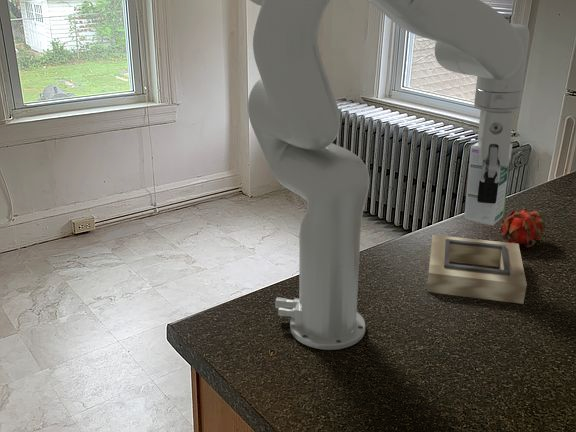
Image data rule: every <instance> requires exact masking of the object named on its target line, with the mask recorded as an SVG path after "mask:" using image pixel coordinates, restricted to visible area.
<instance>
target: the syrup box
mask: <svg viewBox="0 0 576 432" xmlns="http://www.w3.org/2000/svg"><path fill="white" fill-rule="evenodd" d="M489 148H490V146H489ZM512 152H513V143H512V142H510V150H509V160H508V166H507V167H506V168H504V167H503V166H501V165H500V163H499V175H498V182H499V184H498V192H497V199H496V203H494V204H492V203H479V202H478V201H477V197H478V189H479V180H481V177H482V166H481V165H479V157H478V141H477V142H476V143H474V144H473V145H471V146H470V150H469V159H468V161H469V163H468V172H467V180H466V181H467V182H466V193H465V202H464V203H465V205H464V216H463V218H464V219H465V220H467V221H471V222H475V223H478V224H482V225H487V226H488V225H489V226H495V224H496V223H497V222H499V221H500V220H501V219H502V218H503V217H504V216H505V210H506V202H507V195H508V194H507V193H508V188H509V187H508V184H509V178H510V177H509V176H510V169H511V160H512ZM497 160H499V158H498V157H497ZM485 161H486V160H485ZM485 164H489V162H485ZM486 171H488V169H486V170H485V172H486Z"/></svg>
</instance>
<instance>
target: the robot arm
mask: <svg viewBox="0 0 576 432" xmlns="http://www.w3.org/2000/svg"><path fill="white" fill-rule="evenodd" d="M249 1H250V2H252V3H253V4H254V5H255V4H256V5H257V6H260V9H259V11H258V15H257V19H256V23H255V26H254V30H253V37H252V49H253V56H254V61H255V65H256V68H257V70H258V72H259V76H260V78H259V79H258V81H256V82H255V84H254V85H253V87H252V89H251V91H250V93H249V96H248V101H247V112H248V118H249V121H250V125H251V127H252V130H253V132H254V135H255V136H256V140H257V141H258V144H259V145H260V148H261V150H262V153H263V155H264V157H265V160H266V163H267V164H268V167H269V169H270V170H271V172H272V174H273V176H274V178H275V179H276V180H277V181H278V183H280V185H282V186H283V187H284V188H285V189H287V190H289V191H291V192H293V193H294V194H296V195H297V196H299V197H300V198H302V199H303V200H305V201H306V202H307V208H306V212H305V214H304V216H303V219H302V220H301V223H300V228H299V235H298V236H299V238H298V240H299V243H298V246H299V252H298V253H299V256H298V257H299V263H298V264H299V265H298V266H299V267H298V268H299V272H298V275H299V276H298V277H299V281H298V282H299V283H298V284H299V287H298V289H299V293H298V295H299V296H298V297H299V298H298V297H297V298H296V297H294V299H292V298H291V299H290V298H285V297H279V296H276V298H275V302H274V307H275V309H278V310H277V315H278V316H279V317H280V316H281V317H291V318H290V322H289V327H290V333H291V334H292V337H293V338H294V339H296V340H297V342H299V343H300V344H302V345H305V346H307V347H310V348H313V349H318V350H324V351H332V350H333V351H334V350H336V351H337V350H342V349H345V348H348V347H351V346H354V345H355V344H358V342H360V341H361V340H362V339H363V337H364V336H365V333H366V322H365V319H364V317H363V316H362V315H361V313H359V312H358V311H357V309H358V292H359V291H358V290H359V289H358V288H359V268H360V249H361V248H360V247H361V231H362V230H361V229H362V223H363V222H362V221H363V220H362V219H363V213H364V209H365V205H366V201H367V197H368V195H369V191H370V190H369V189H370V181H371V179H370V173H369V170H368V167H367V165H366V164H365V162H364V161H363V159H361V158H360V157H359V156H358V155H357V154H355V153H354V152H353V151H351V150H349V149H347V148H345V147H342V146H340V145H337V144H336V143H334V141H335V140H336V138H337V137H338V135H339V133H340V132H339V131H340V128H341V115H340V110H339V107H338V102H337V100H336V97H335V95H334V92H333V88H332V85H331V83H330V80H329V76H328V75H327V74H328V73H327V71H326V68H325V65H324V62H323V59H322V55H321V52H320V51H321V50H320V48H319V47H320V46H319V37H318V36H319V28H320V25H321V22H322V19H323V16H324V14H325V11H326V9H327V7H328V5H329V3H330V2H331V0H249ZM367 1H368V2H369V3H370V4H372V5H373V6H374V7H375V8H376V9H377V10H378V11H380V12H381V13H382V14H383V15H385V16H386V17H387V18H388V19H390V20H391V21H392V22H393V23H394V24H395V25H396V26H398V27H399V28H400V29H402V30H404V31H406V32H409V33H410V34H413V35H416V36H418V37H421V38H425V39H428V40H431V41H435V44H434V57H435V60H436V61H437V63H438V64H439V65H440V66H441V67H442V68H443V69H445V70H447V71H450V72H453V73H455V74H456V73H457V74H463V75H467V76H474V77H476V85H475V93H474V95H475V96H474V104H473V106H474V108H476V109H477V110H479V112H480V113H479V120H478V130H477V131H478V134H477V142H478V157H479V165H481V166H482V177H481V180H479V189H478V197H477V201H478V202H479V203H492V204H494V203H496V199H497V192H498V184H499V182H498V175H499V163H500V165H501V166H503V167H504V168H506V167H507V166H508V160H509V150H510V143H511V139H512V133H513V130H512V129H513V119H514V115H513V114H514V112H517V111H519V110H520V108H521V100H522V92H523V87H524V79H525V78H524V77H525V72H526V65H527V57H528V50H529V44H530V43H529V42H530V36H531V35H530V29H529V28H528V27H527V26H526V25H524V24H518V23H510V22H509V20H507V18H506V17H504V15H502V14H501V13H500V12H498V11H497V10H496V9H495V8H493V7H492V6H490V5H489V4H488V3H486V2H484V1H482V0H367ZM489 146H490V148H489ZM497 157H498V158H499V160H497ZM485 160H486V161H485ZM485 162H489V164H485ZM486 169H488V171H486V172H485V170H486Z"/></svg>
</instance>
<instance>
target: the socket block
mask: <svg viewBox="0 0 576 432" xmlns="http://www.w3.org/2000/svg"><path fill="white" fill-rule="evenodd" d="M431 237H432V238H431V247H430V256H429V265H428V266H429V267H428V275H427V286H426V292H427V293H432V294H433V293H434V294H442V295H451V296H457V297H458V296H459V297H464V298H465V297H466V298H474V299H481V300H488V301H489V300H490V301H495V302H496V301H498V302H505V303H512V304H513V303H515V304H521V305H523V304H524V301H525V297H526V290H527V285H528V283H527V280H526V274H525V270H524V264H523V260H522V255H521V250H520V244H517V243H507V241H506V242H505V241H497V240H485V239H476V238H468V237H467V238H465V237H459V236H458V237H457V236H448V235H439V234H432V236H431ZM450 262H451V263H450ZM456 263H460V264H456ZM464 264H466V265H464ZM468 264H469V265H468ZM474 265H477V266H474ZM480 266H481V267H480ZM482 266H485V267H482ZM487 266H488V267H487ZM491 267H496V268H491Z"/></svg>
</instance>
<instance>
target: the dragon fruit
mask: <svg viewBox="0 0 576 432" xmlns="http://www.w3.org/2000/svg"><path fill="white" fill-rule="evenodd" d="M545 223H546V222H545V218H544V217H543V216H542V215H541V213H540V212H539V211H537V210H532V211H529V210H528V209H527V208H525V207H523V208H522V210H521V211H517V210H513V211H511V212H510V213H509V214H508V215H507V216H506V217H505V218H504V219H503V220H502V223H501V227H500V230H499V233H500V234H501V236H502V238H503V240H504V241H505V240H506V242H507V243H517V244H519V245H524V247H526V248H527V249H528V248H531V247H533V246H534V245H535V243H536V242H537V241H536V240H538V241H540V240H544V239H545V238H546V235H545V234H544V232H543V231H545V230H546V229H547V226H546V224H545Z"/></svg>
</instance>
